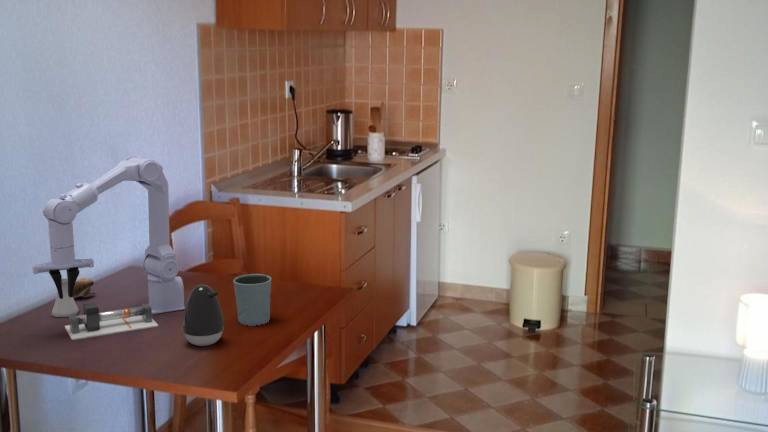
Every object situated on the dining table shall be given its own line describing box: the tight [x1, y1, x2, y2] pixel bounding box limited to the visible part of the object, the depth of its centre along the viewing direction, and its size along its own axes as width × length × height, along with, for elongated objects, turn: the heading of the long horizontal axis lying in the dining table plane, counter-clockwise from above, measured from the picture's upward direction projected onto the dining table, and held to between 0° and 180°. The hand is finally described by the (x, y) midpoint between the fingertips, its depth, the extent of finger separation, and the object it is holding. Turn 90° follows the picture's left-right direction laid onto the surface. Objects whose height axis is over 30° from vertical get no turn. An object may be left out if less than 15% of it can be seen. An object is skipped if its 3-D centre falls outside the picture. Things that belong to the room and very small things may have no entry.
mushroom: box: [72, 278, 95, 299], centre depth 247 cm, size 8×8×6 cm
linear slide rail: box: [68, 303, 153, 334], centre depth 222 cm, size 20×4×4 cm, turn 120°
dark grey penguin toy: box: [182, 284, 225, 347], centre depth 210 cm, size 10×10×15 cm
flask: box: [50, 277, 80, 318], centre depth 231 cm, size 7×7×10 cm
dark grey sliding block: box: [82, 302, 100, 331], centre depth 219 cm, size 3×5×6 cm, turn 30°
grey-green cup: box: [232, 273, 272, 327], centre depth 227 cm, size 10×10×12 cm
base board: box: [64, 316, 159, 341], centre depth 222 cm, size 22×11×1 cm, turn 120°
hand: (65, 297), depth 215 cm, fingers closed
